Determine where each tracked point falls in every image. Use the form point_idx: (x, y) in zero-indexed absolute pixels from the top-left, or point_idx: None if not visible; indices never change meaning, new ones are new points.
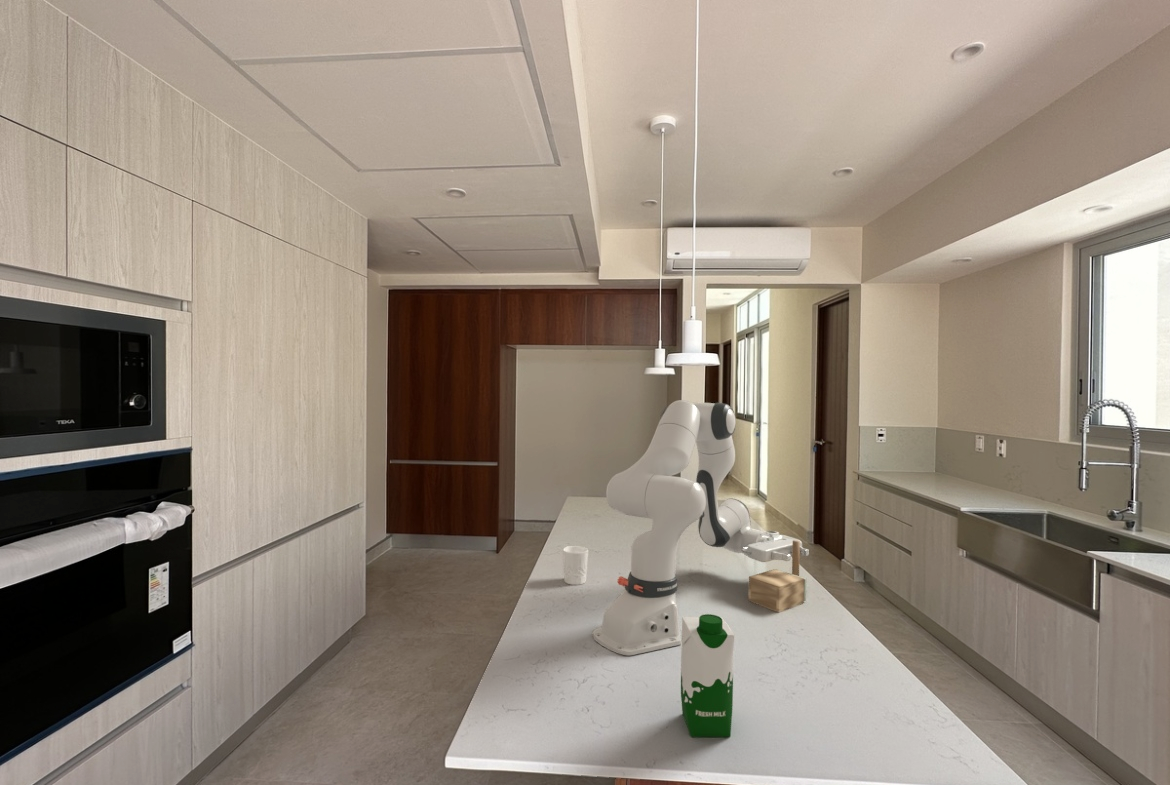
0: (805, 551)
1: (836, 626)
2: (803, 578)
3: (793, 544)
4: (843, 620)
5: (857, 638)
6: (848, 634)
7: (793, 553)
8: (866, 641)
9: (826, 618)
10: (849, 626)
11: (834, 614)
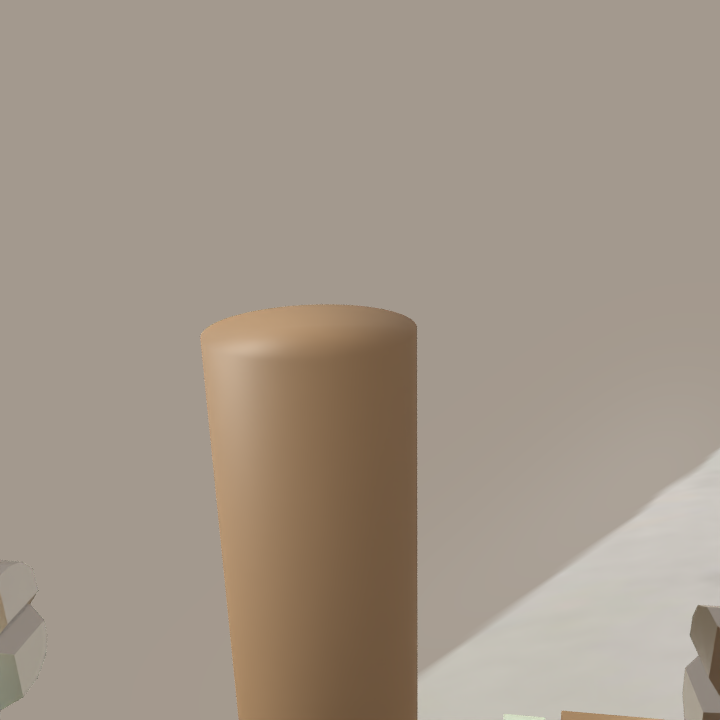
0: (22, 581)
1: (693, 596)
2: (570, 718)
3: (415, 423)
4: (563, 603)
5: (702, 513)
6: (711, 540)
7: (413, 658)
8: (684, 492)
9: (652, 668)
10: (610, 564)
11: (523, 662)
